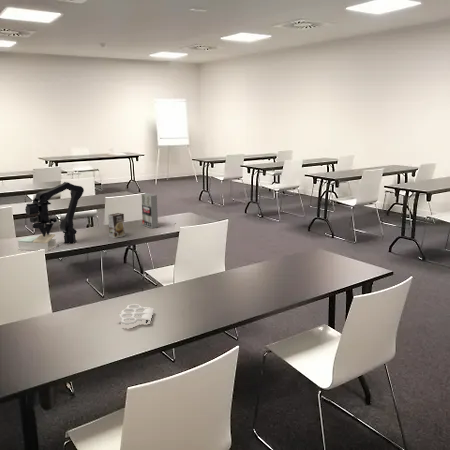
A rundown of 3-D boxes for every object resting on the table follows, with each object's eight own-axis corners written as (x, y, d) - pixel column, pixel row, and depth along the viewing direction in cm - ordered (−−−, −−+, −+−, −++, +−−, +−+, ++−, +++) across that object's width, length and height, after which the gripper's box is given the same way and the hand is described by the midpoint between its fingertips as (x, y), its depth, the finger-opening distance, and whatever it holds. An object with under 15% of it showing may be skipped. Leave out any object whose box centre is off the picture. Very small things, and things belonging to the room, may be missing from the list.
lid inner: (55, 235, 287) (54, 234, 286) (46, 243, 278) (46, 242, 277) (41, 234, 288) (41, 233, 288) (33, 242, 279) (32, 241, 279)
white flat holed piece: (150, 329, 176) (113, 330, 175) (155, 310, 194) (121, 311, 193) (149, 322, 175) (112, 322, 175) (154, 303, 193) (121, 304, 192)
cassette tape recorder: (141, 225, 345) (140, 193, 339) (148, 224, 349) (147, 193, 343) (151, 228, 335) (150, 196, 329) (158, 227, 339) (157, 195, 333)
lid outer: (40, 238, 289) (40, 237, 289) (31, 242, 279) (31, 241, 279) (27, 237, 291) (27, 236, 291) (18, 241, 281) (17, 240, 281)
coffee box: (115, 238, 308) (113, 215, 304) (109, 237, 312) (107, 214, 308) (125, 235, 315) (124, 213, 311) (119, 234, 319) (118, 212, 315)
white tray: (57, 246, 290) (56, 238, 288) (46, 251, 278) (46, 243, 277) (29, 244, 293) (28, 237, 292) (18, 249, 281) (17, 242, 280)
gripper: (40, 208, 291) (42, 231, 295) (23, 215, 273) (26, 239, 277) (55, 209, 289) (58, 231, 293) (39, 215, 271) (42, 240, 275)
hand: (46, 235), depth 285 cm, fingers open, 4 cm apart
